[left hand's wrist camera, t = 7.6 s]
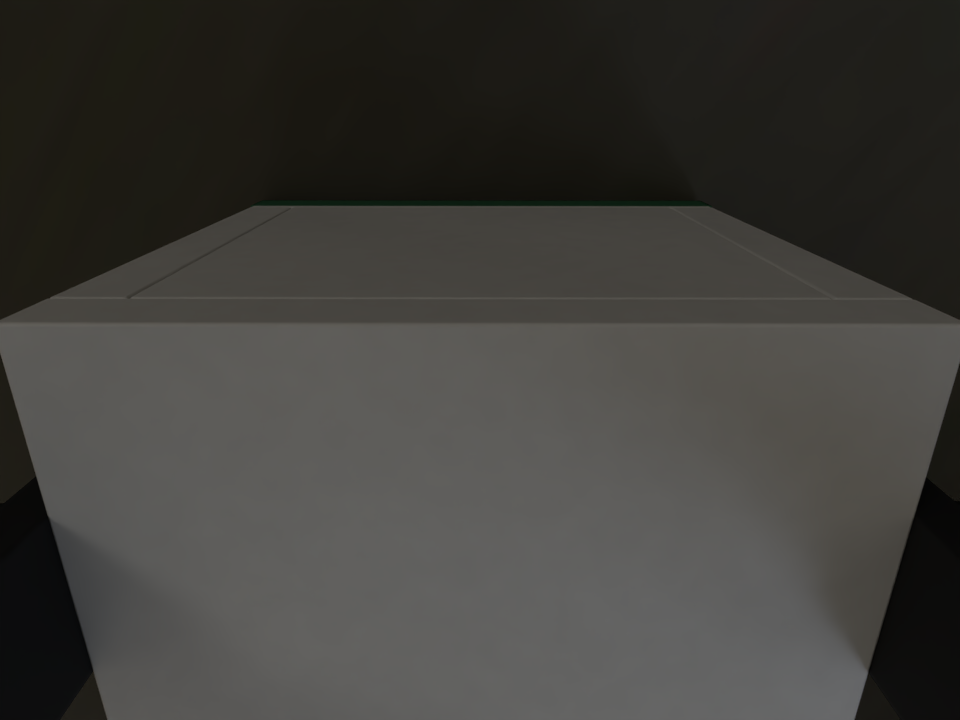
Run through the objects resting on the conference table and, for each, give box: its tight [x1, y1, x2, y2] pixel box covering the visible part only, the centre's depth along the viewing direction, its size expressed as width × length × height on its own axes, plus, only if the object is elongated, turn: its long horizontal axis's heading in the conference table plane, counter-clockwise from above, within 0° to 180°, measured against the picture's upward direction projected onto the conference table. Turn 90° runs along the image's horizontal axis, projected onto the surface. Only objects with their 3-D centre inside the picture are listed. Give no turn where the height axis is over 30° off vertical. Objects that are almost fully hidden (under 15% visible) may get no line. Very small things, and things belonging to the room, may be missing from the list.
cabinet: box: [0, 200, 960, 720], centre depth 16 cm, size 19×11×10 cm, turn 0°
